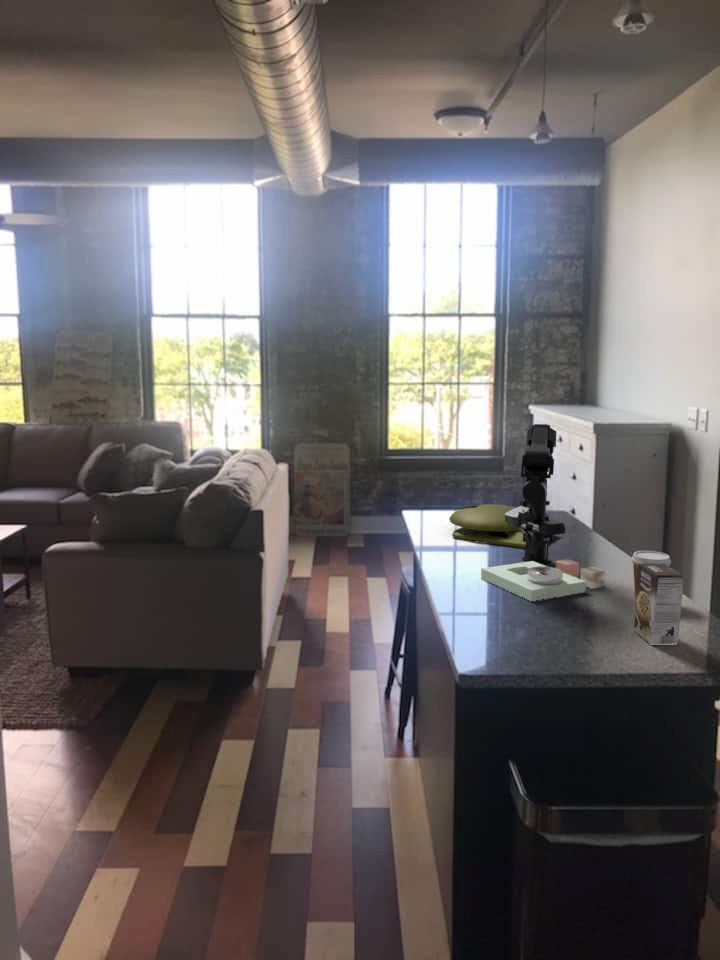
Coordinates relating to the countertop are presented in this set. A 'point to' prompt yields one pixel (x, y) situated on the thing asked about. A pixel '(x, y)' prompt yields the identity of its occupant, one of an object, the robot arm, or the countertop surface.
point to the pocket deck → (517, 582)
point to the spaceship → (487, 525)
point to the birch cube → (593, 577)
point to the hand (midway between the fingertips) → (533, 553)
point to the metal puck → (545, 575)
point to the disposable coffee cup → (648, 561)
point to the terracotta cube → (568, 567)
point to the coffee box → (658, 603)
